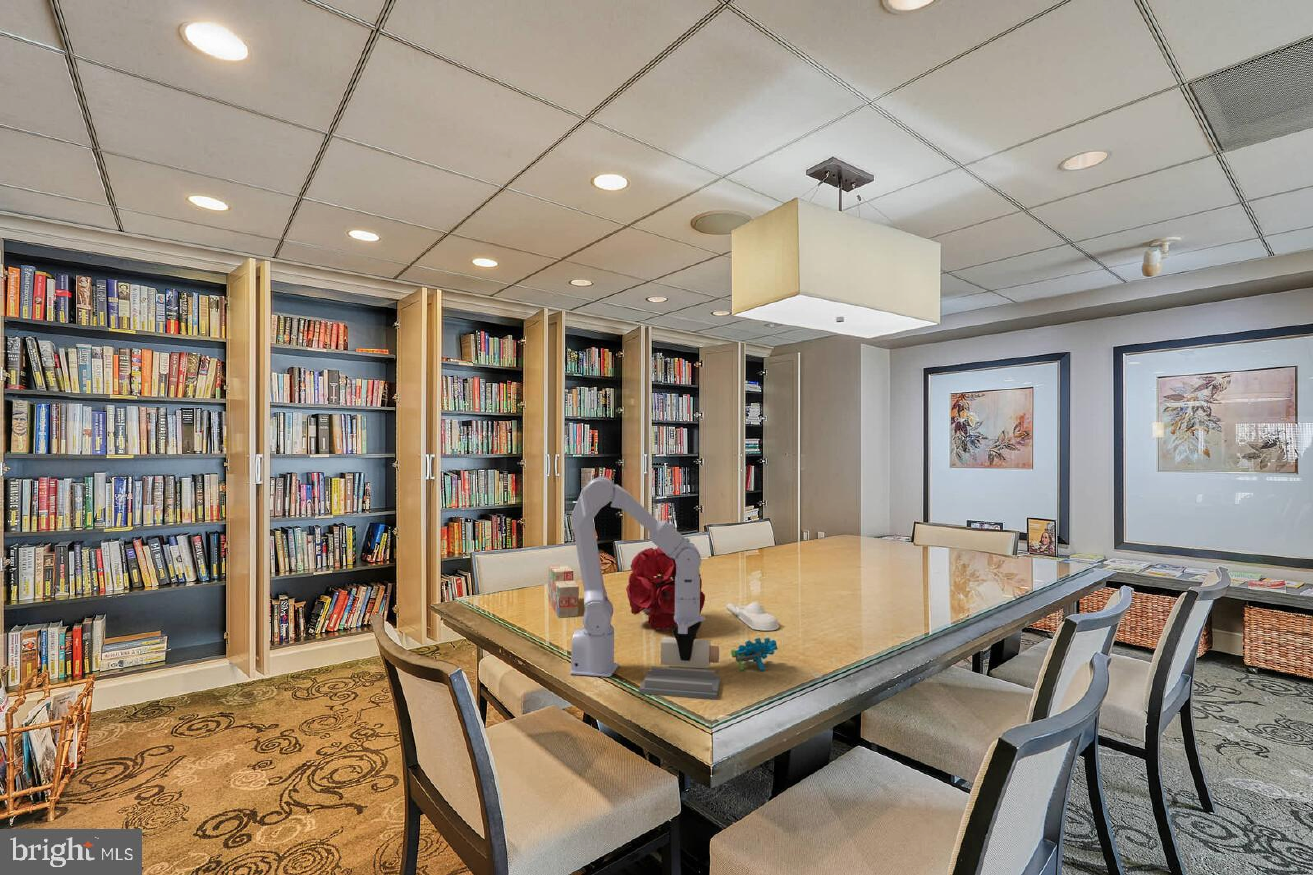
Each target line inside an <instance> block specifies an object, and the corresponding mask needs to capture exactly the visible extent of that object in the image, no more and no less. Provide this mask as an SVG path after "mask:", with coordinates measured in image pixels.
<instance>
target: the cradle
mask: <svg viewBox="0 0 1313 875" xmlns="http://www.w3.org/2000/svg"><path fill="white" fill-rule="evenodd" d="M716 674H717V673H716V669H713V670H712V669H703V668H701V669H700V668H699V669H697V668H688V667H671V666H669V667H668V666H660V665H659V666H656V665H652V666H651V670H648V672H647V674H646V675H645V677H644V679H643V681H642V683H641V684H640V686H639V688H638V694H641V695H653V696H654V695H656V696H669V697H678V698H679V697H681V698H693V699H704V700H717V699H718V695H719V689H720V685H721V676H720V675H719V676H718V675H716Z"/></svg>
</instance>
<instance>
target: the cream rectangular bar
mask: <svg viewBox="0 0 1313 875" xmlns="http://www.w3.org/2000/svg"><path fill="white" fill-rule="evenodd" d="M711 663H713V664H719V663H720V646H717V645H712V640H711V639H697V638H696V639H694V642H693V648H692V654H691V659H690V661H684V660H681V659H680V654H679V649H678V644H677V641H676V639H675V637H670V636H669V637H668V636H666V637H665V636H663V638H662V640H661V641H660V665H661V666H675V667H685V668H688V667H689V668H699V669H700V668H701V669H704V668H705V669H710V665H711Z"/></svg>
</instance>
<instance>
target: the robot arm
mask: <svg viewBox="0 0 1313 875" xmlns="http://www.w3.org/2000/svg"><path fill="white" fill-rule="evenodd" d="M610 502H611V503H610ZM609 503H610V507H611V508H615V509H622V510H623V511H624V512H626V513H627V514H628V515H629V516H631V518H633V519H634V520H635V521H636V522H638V524H640V525H641V526H643V528H645V529H646V530H647V531H648V536H649V537H648V539H649V541H651V543H652V544H654V545H655V546H656V548H660V549H661V550H662V551H663V552H664V553H665V554H666V555H667V556H668V557H670V558H674V559H675V563H676V576H675V615H674V620H675V622H676V623H677V626H675V627H673V628H672V634H673V636H674V638H675V639H676V641H677V644H678V649H679V654H680V659H681V660H684V661H690V659H691V654H692V648H693V642H694V639H697V635H698V632H699V628H700V627H701V624H702V622H705V620H706V617H705V616H704V615H701V613H700V577H701V576H700V577H699V573H700V567H701V564H702V556H701V554H700V551H699V550H698V548H697V546H695V544H694V543H693V542H691V539H689V538H688V537H684V536H683V535H682V534H681V533H680V532H679V531H678V530H677V529H675V527H676V525H675V524H674V523H673V522H672V521H671V522H670V523H669V522H668V521H667V520H658V519H656V518H655V517H654V516H653V514H652V513H650V512H649V510H647V508H645V507H644V506H643V505H642V504H641V503H640V501H638V500H637V499H636V498H634V496H633V495H632V494H630V492H628V491H627V490H626V489H624V488H623V487H621V486H620V485H619V484H617V483H616V484H615V483H614V481H613V480H612V479H611V478H609V477H607V476H598V477H596V478H594V479H592V480H590V481H589V482H588V483H587V484H586V485H585V486H584V487H583V488H582V489H581V491H580V494H579V497H578V498H577V502H576V503H575V506H574V508H573V510H572V512H571V522H572V527H573V528H572V529H573V534H574V540H575V546H576V552H577V557H578V564H579V571H580V575H581V581H582V587H583V605H584V606H583V607H584V614H583V617H582V624H583V627H582V629H576V630H575V631H574V632H573V635H572V639H571V645H570V646H571V648H570V649H571V650H570V651H571V655H570V656H571V658H570V661H571V662H570V664H571V665H570V668H571V669H570V672H569V674H570V675H577V676H578V675H579V676H592V677H603V678H610V677H612V676H613V674H614V673H615V671H616V670H617V668H618V667H619V666H620V663H619V662H615V627H614V626H613V625H612V617H613V615H614V606H613V603H612V602H611V601H610V599H609V597H608V594H607V589H606V586H605V583H604V577H603V572H602V565H601V561H600V560H601V559H600V553H599V548H598V541H597V537H596V536H597V535H596V530H595V529H596V528H595V524H594V518H595V517H596V516H597V514H598V513H599V512H600V510H601V509H602V508H603V507H605V506H607V505H608V504H609Z"/></svg>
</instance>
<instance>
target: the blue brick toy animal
mask: <svg viewBox="0 0 1313 875" xmlns="http://www.w3.org/2000/svg"><path fill="white" fill-rule="evenodd" d="M763 640H764V641H763V642H762V640H761V637H758V638H755V639H754V642H752V641H751V640H747V641H745V643H744V644H745V645H743V644H740V645H738V649H736V650H735V649H732V650H731V651H730V654H731V657H732V658H735V662H737V663H738V665H739V668H740V671H741V672H742V671H745V670H744V665H743V663H742V662H749V661H752V662H757V665H758V668H759V671H760V672H764V671H765V667H764V664H763V660H765V659H767V658H768V655H771V656H772V655H774V653H775V651H776V650H778V649H779V648H778V646H777V641H776V640H775V639H772V640H771V638H770V637H765V638H763Z"/></svg>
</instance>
